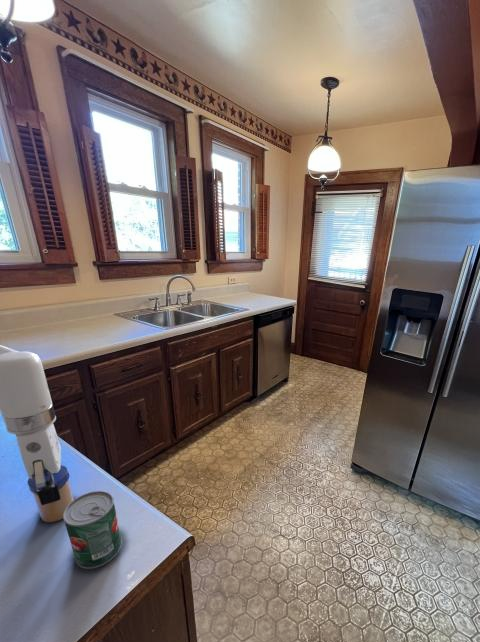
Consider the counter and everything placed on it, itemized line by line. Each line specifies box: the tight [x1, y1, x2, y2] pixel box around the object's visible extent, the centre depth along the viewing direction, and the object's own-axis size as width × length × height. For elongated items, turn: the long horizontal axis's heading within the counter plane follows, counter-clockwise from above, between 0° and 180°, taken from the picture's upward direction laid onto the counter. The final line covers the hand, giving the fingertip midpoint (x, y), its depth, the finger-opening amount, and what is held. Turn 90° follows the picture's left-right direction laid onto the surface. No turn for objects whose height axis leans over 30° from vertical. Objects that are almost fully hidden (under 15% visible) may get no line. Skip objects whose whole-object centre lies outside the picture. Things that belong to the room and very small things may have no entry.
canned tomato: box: [63, 490, 123, 570], centre depth 58 cm, size 8×8×11 cm
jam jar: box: [32, 479, 75, 523], centre depth 66 cm, size 6×6×9 cm
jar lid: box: [27, 464, 71, 494], centre depth 65 cm, size 7×7×2 cm
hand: (52, 489), depth 66 cm, fingers closed on jar lid, 6 cm apart
